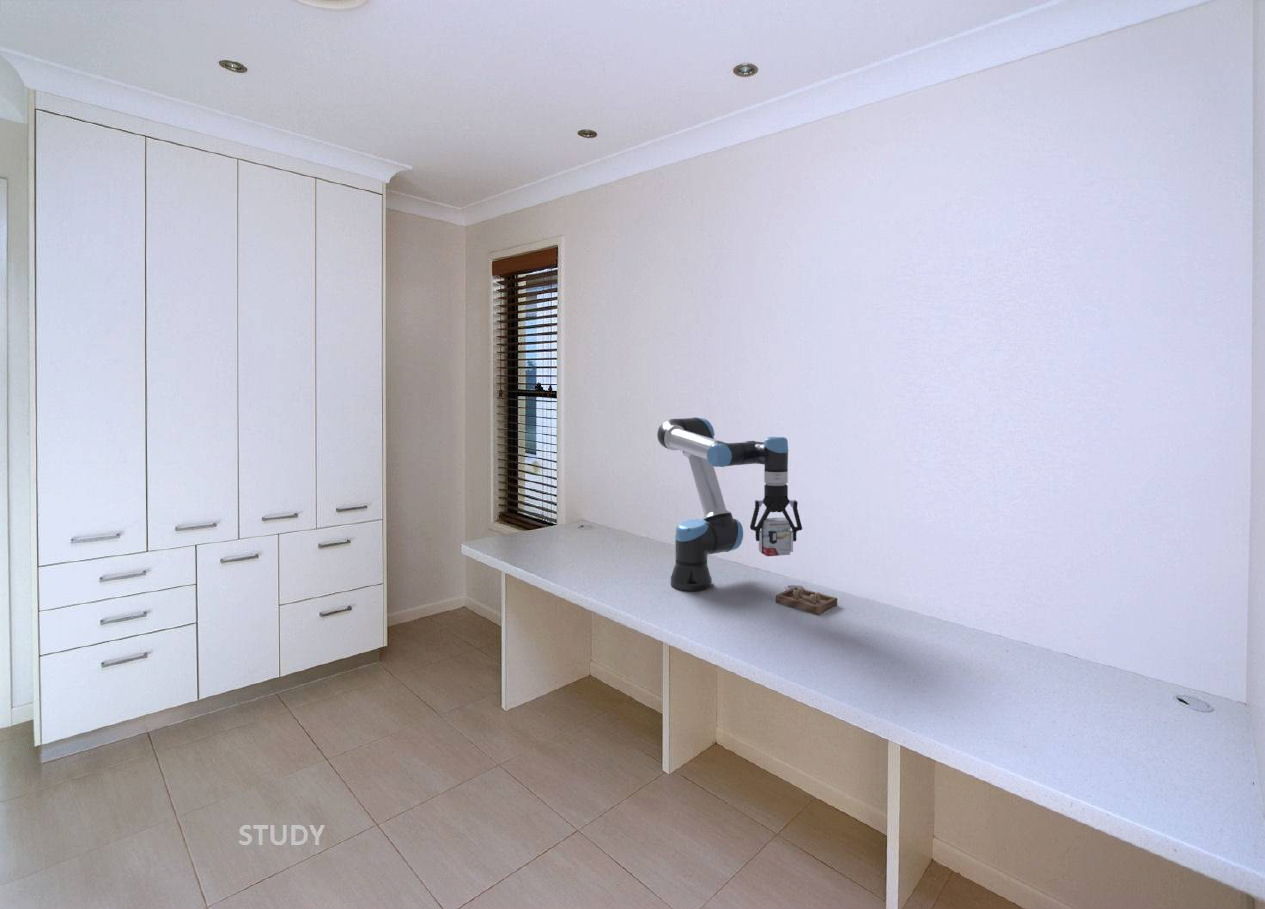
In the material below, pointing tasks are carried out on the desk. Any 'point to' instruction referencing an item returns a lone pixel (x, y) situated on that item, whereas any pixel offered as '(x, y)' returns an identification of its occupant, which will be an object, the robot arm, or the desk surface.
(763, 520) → the robot arm
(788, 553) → the ink box
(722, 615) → the desk surface
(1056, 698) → the desk surface
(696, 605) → the desk surface
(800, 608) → the peg frame
